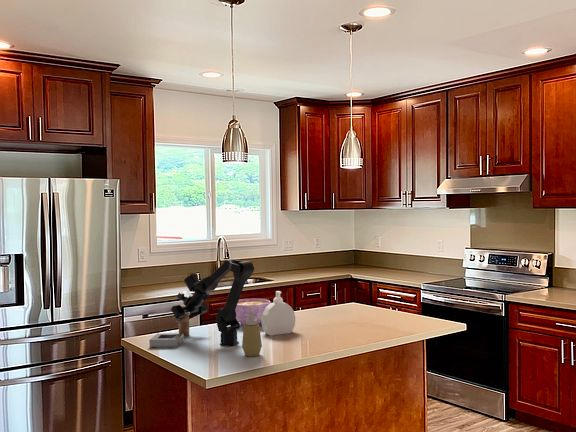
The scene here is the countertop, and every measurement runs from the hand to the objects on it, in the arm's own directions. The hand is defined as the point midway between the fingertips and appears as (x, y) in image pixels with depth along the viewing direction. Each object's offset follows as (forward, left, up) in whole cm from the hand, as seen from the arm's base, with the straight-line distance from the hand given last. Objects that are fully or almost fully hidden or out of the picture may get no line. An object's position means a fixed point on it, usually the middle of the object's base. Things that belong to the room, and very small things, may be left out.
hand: (181, 320), depth 278 cm
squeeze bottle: (-48, +21, -7) cm, 53 cm away
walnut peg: (-1, 0, -7) cm, 7 cm away
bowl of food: (-20, -32, -7) cm, 38 cm away
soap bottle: (-42, -18, -7) cm, 47 cm away
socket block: (-4, +18, -7) cm, 20 cm away
